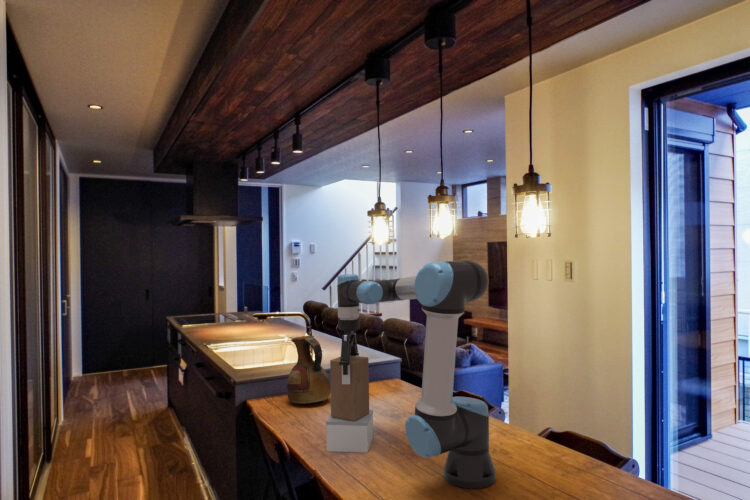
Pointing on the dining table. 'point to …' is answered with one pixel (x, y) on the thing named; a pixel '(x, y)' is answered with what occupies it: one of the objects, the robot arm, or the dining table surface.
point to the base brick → (349, 434)
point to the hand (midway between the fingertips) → (349, 379)
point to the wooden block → (350, 389)
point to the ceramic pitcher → (308, 374)
